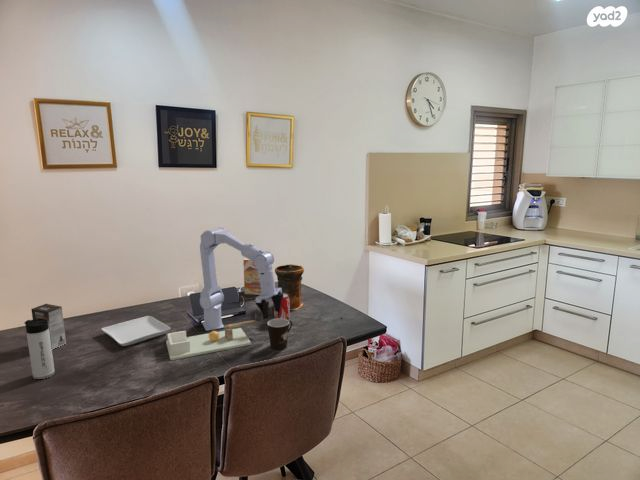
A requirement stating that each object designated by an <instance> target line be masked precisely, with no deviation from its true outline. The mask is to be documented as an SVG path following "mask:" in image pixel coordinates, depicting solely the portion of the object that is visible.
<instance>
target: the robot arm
mask: <svg viewBox="0 0 640 480" xmlns="http://www.w3.org/2000/svg"><path fill="white" fill-rule="evenodd" d="M221 244H226V245H227V246H230V247H232V248H234V249H236V250H238V251H239V252H240V254H241V256H242V257H244V258H247V259H249V260H251V261H252V262H254V264H255V266H256V267H257V269H258V272H259V278H260V285H261V291H262V294H260V295H258V296H256V297H255V299H254V300H255V305H256V306H257V307H258V309H260V310H261V312H262V315H263V319H269V316H270V313H269V305H270V301H266V300H267V299H270V298H271V300H272V303H273V304H272V305H273V310H274V309H275V312H280V308H281V301H282V298H283V294H282V288H278V287H276V284H275V275H273V271H274V267H273V268H272V264H273V265H274V261H275V258H274V255H273V253H272V252H270V251H267V250H266V251H264V250H263V249H260V248H258V247H257V246H255V244H253V242H252V243H249V242H247V243H244V242H243V241H241V240H240V239H238V238H237V237H235V236H234V235H232V234H231V233H230V232H229V230H228V229H225V228H224V227H220V226H219V227H217V228H213V229H209V230H205V231H203V232H202V233H201V234H200V244H199V253H200V260H201V269H202V277H203V285H204V286H203V288H202V290H201V292H200V298H199V304H200V307H201V308H202V309H203V317H204V318H203V320H204V321H202V322H201V323H202V326H203V329H205V331H215V330H219V329H225V325H224V323H223V321H222V304H223V302H224V301H225V295H224V293H223V290H222V287H221V286H220V285H218V278H217V270H216V269H217V268H216V261H215V251H214V250H215V249H217V247H218V246H219V245H221Z"/></svg>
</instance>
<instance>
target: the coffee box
mask: <svg viewBox="0 0 640 480" xmlns="http://www.w3.org/2000/svg"><path fill="white" fill-rule="evenodd" d="M31 316H32V317H31V318H32V320H33V319H45V320H47V321H48V327H49V333H50V340H51V348H52V351H54V350H53V349H55V348H57V347H59V348H61V347H63V346H65V345H67V340H66V339H67V338H66V333H65V324H64V314H63V307H62V306H61V305H55V304H50V303H44V304H41V305H38V306H36V307H34V308H31ZM64 344H65V345H64ZM62 345H63V346H62ZM60 346H61V347H60ZM57 349H58V348H57ZM55 350H56V349H55Z"/></svg>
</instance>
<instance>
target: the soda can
mask: <svg viewBox="0 0 640 480" xmlns="http://www.w3.org/2000/svg"><path fill="white" fill-rule="evenodd" d="M282 294H283V298H282V301H281V308H280V312H275V309H274V308H273V310H274V311H273V314H274V315H273V316H274V319H279V318H280V319H286V320H288V321H290V316H291V315H290V313H291V312H290V311H291V310H290V302H289V297H288V294H285V293H282Z"/></svg>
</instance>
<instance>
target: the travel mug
mask: <svg viewBox="0 0 640 480" xmlns="http://www.w3.org/2000/svg"><path fill="white" fill-rule="evenodd" d="M24 325H25V329H26V330H25V332H26V339H27V346H28V354H29V359H30V367H31V373H32V378H34V380H35V379H44V380H46V379H45V378H47V379H49V378H48V377H50V378H51V377H53V376H54V375H55V374H54V373H55V363H54V356H53V350H52V348H51V340H50V333H49V327H48V321H47V320H45V319H33V318H32V319H28V320H26V321H24ZM52 375H53V376H52Z"/></svg>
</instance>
